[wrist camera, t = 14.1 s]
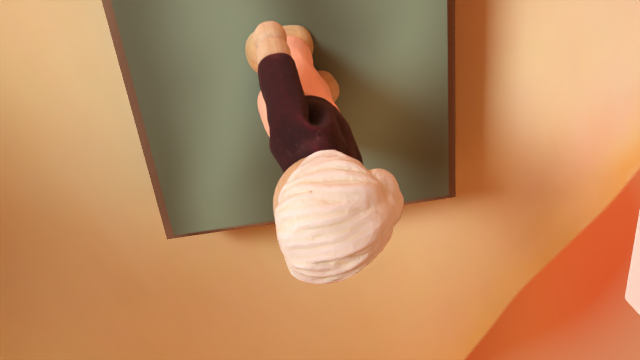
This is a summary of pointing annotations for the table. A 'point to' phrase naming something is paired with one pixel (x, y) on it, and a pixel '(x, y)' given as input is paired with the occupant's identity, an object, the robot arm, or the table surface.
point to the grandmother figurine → (317, 163)
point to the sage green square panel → (243, 89)
